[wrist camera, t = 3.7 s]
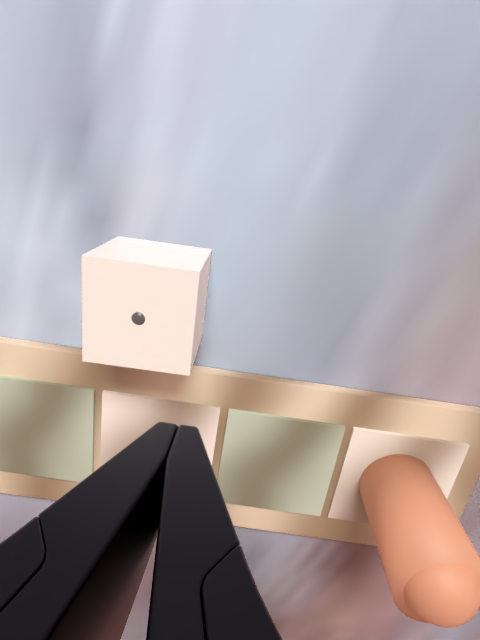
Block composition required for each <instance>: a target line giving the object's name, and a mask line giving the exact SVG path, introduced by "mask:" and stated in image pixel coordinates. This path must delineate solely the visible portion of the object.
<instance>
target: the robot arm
mask: <svg viewBox="0 0 480 640" xmlns="http://www.w3.org/2000/svg"><path fill="white" fill-rule="evenodd" d="M156 537H157V544H156V553H155V562H154V571H153V581H152V590H151V599H150V608H149V618H148V627H147V636H146V640H282V638H281V636H280V634H279V632H278V630H277V628H276V626H275V624H274V623H273V620H272V618H271V616H270V614H269V612H268V610H267V608H266V606H265V604H264V602H263V600H262V598H261V595H260V593H259V591H258V589H257V586H256V584H255V581H254V579H253V576H252V574H251V571H250V569H249V566H248V564H247V561H246V558H245V556H244V553H243V550H242V547H241V546H239V545H240V543H239V540H238V537H237V534H236V531H235V529H234V526H233V523H232V520H231V518H230V515H229V512H228V509H227V507H226V504H225V501H224V498H223V495H222V493H221V490H220V487H219V484H218V482H217V479H216V476H215V473H214V471H213V468H212V465H211V462H210V460H209V457H208V454H207V451H206V449H205V446H204V443H203V440H202V437H201V435H200V432H199V429H198V428H197V427H195V426H189V425H179V426H177V424H175V423H168V422H158V423H156V424H155V425H154V426H152V427H151V428H150V429H149V430H147V431H146V432H145V433H143V434H142V435H141V436H140V437H138V438H137V439H136V440H134V441H133V442H132V443H130V444H129V445H128V446H127V447H125V448H124V449H123V450H121V451H120V452H119V453H118V454H116V455H115V456H114V457H112V458H111V459H110V460H109V461H107V462H106V463H105V464H103V465H102V466H101V467H99V468H98V469H97V470H96V471H94V472H93V473H92V474H90V475H89V476H88V477H87V478H85V479H84V480H83V481H81V482H80V483H79V484H78V485H76V486H75V487H74V488H72V489H71V490H70V491H68V492H67V493H66V494H65V495H63V496H62V497H61V498H59V499H58V500H57V501H56V502H54V503H53V504H52V505H50V506H49V507H48V508H47V509H45V510H44V511H43V512H41V513H40V514H39V518H38V517H35V518H33V519H32V520H31V521H29V522H28V523H27V524H26V525H24V526H23V527H22V528H20V529H19V530H18V531H16V532H15V533H14V534H12V535H11V536H10V537H8V538H7V539H6V540H4V541H3V542H2V543H0V640H120V639H121V636H122V633H123V630H124V628H125V625H126V622H127V619H128V616H129V613H130V611H131V608H132V605H133V602H134V599H135V597H136V594H137V591H138V588H139V585H140V583H141V580H142V577H143V574H144V571H145V568H146V566H147V563H148V560H149V557H150V554H151V552H152V549H153V546H154V543H155V540H156Z"/></svg>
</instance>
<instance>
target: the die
mask: <svg viewBox="0 0 480 640" xmlns="http://www.w3.org/2000/svg"><path fill="white" fill-rule="evenodd" d="M211 254H212V249H206V248H199V247H192V246H185V245H177V244H170V243H163V242H156V241H149V240H142V239H135V238H128V237H120V236H118V237H116V238H114V239H112V240H110V241H108V242H107V243H105V244H103V245H101V246H99V247H97V248H95V249H93V250H91V251H89V252H87V253H85V254H83V255H82V361H84V362H91V363H99V364H106V365H113V366H121V367H128V368H135V369H142V370H150V371H157V372H164V373H172V374H179V375H186V376H190V373H191V370H192V367H193V363H194V360H195V357H196V354H197V351H198V348H199V345H200V342H201V338H202V335H203V327H204V318H205V309H206V300H207V290H208V281H209V272H210V263H211Z"/></svg>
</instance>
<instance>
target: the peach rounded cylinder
mask: <svg viewBox="0 0 480 640" xmlns="http://www.w3.org/2000/svg"><path fill="white" fill-rule="evenodd" d="M359 491H360V494H361V497H362V500H363V504H364V507H365V510H366V513H367V516H368V519H369V523H370V526H371V529H372V532H373V535H374V538H375V542H376V545H377V548H378V551H379V554H380V558H381V561H382V564H383V567H384V570H385V573H386V577H387V580H388V583H389V586H390V589H391V592H392V596H393V599H394V602H395V604H396V606H397V607H398V609H399V610H400V611H401V612H402V613H404V614H405V615H406V616H408V617H410V618H412V619H414V620H417V621H420V622H425V623H431V624H434V625H437V626H440V627H457V626H460V625H463V624H465V623H466V622H468V621H469V620H471V619H472V618H473V617H474V615H475V614H476V612H477V611H478V610H480V557H479V555H478V553H477V552H476V550H475V548H474V546H473V545H472V543H471V541H470V539H469V538H468V536H467V534H466V532H465V531H464V529H463V527H462V525H461V523H460V522H459V520H458V518H457V516H456V515H455V513H454V511H453V509H452V508H451V506H450V504H449V502H448V501H447V499H446V497H445V495H444V494H443V492H442V490H441V488H440V486H439V485H438V483H437V481H436V479H435V478H434V476H433V474H432V472H431V471H430V469H429V467H428V466H427V465H426V464H425V463H424V462H423V461H422V460H420V459H418V458H416V457H414V456H410V455H405V454H393V455H388V456H384V457H381V458H379V459H377V460H375V461H374V462H372V463H371V464H370V465H369V466H368V467H367V468H366V469H365V470H364V471H363V473H362V475H361V477H360V480H359Z"/></svg>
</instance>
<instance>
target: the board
mask: <svg viewBox="0 0 480 640" xmlns="http://www.w3.org/2000/svg"><path fill="white" fill-rule="evenodd" d="M158 422H168V423H175V424H177V426H179V425H189V426H195V427H197V428H198V429H199V432H200V435H201V437H202V440H203V443H204V446H205V449H206V451H207V454H208V457H209V460H210V462H211V465H212V468H213V471H214V473H215V476H216V479H217V482H218V484H219V487H220V490H221V493H222V495H223V498H224V501H225V504H226V507H227V509H228V512H229V515H230V518H231V520H232V523H233V526H239V527H246V528H253V529H260V530H267V531H274V532H281V533H288V534H295V535H302V536H309V537H316V538H323V539H330V540H337V541H344V542H351V543H359V544H366V545H373V546H377V545H376V542H375V538H374V535H373V532H372V529H371V526H370V523H369V519H368V516H367V513H366V510H365V507H364V504H363V500H362V497H361V494H360V491H359V480H360V477H361V475H362V473H363V471H364V470H365V469H366V468H367V467H368V466H369V465H370V464H371V463H372V462H374V461H375V460H377V459H379V458H381V457H384V456H388V455H393V454H405V455H410V456H414V457H416V458H418V459H420V460H422V461H423V462H424V463H425V464H426V465H427V466H428V467H429V469H430V471H431V472H432V474H433V476H434V478H435V479H436V481H437V483H438V485H439V486H440V488H441V490H442V492H443V494H444V495H445V497H446V499H447V501H448V502H449V504H450V506H451V508H452V509H453V511H454V513H455V515H456V516H457V518H458V520H459V519H460V517H461V515H462V513H463V511H464V508H465V506H466V504H467V502H468V499H469V497H470V495H471V493H472V491H473V488H474V486H475V484H476V482H477V480H478V477H479V475H480V407H474V406H467V405H460V404H453V403H447V402H440V401H433V400H426V399H420V398H413V397H406V396H399V395H393V394H386V393H379V392H372V391H366V390H359V389H352V388H345V387H339V386H332V385H325V384H318V383H312V382H305V381H298V380H291V379H284V378H278V377H271V376H264V375H257V374H251V373H244V372H237V371H230V370H224V369H217V368H210V367H203V366H197V365H193V367H192V370H191V373H190V376H186V375H179V374H172V373H164V372H157V371H150V370H142V369H135V368H128V367H121V366H113V365H106V364H99V363H91V362H84V361H82V348H75V347H68V346H61V345H55V344H48V343H41V342H34V341H28V340H21V339H14V338H7V337H1V336H0V493H7V494H14V495H21V496H28V497H35V498H42V499H49V500H56V501H57V500H58V499H59V498H61V497H62V496H63V495H65V494H66V493H67V492H68V491H70V490H71V489H72V488H74V487H75V486H76V485H78V484H79V483H80V482H81V481H83V480H84V479H85V478H87V477H88V476H89V475H90V474H92V473H93V472H94V471H96V470H97V469H98V468H99V467H101V466H102V465H103V464H105V463H106V462H107V461H109V460H110V459H111V458H112V457H114V456H115V455H116V454H118V453H119V452H120V451H121V450H123V449H124V448H125V447H127V446H128V445H129V444H130V443H132V442H133V441H134V440H136V439H137V438H138V437H140V436H141V435H142V434H143V433H145V432H146V431H147V430H149V429H150V428H151V427H152V426H154V425H155V424H156V423H158Z"/></svg>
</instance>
